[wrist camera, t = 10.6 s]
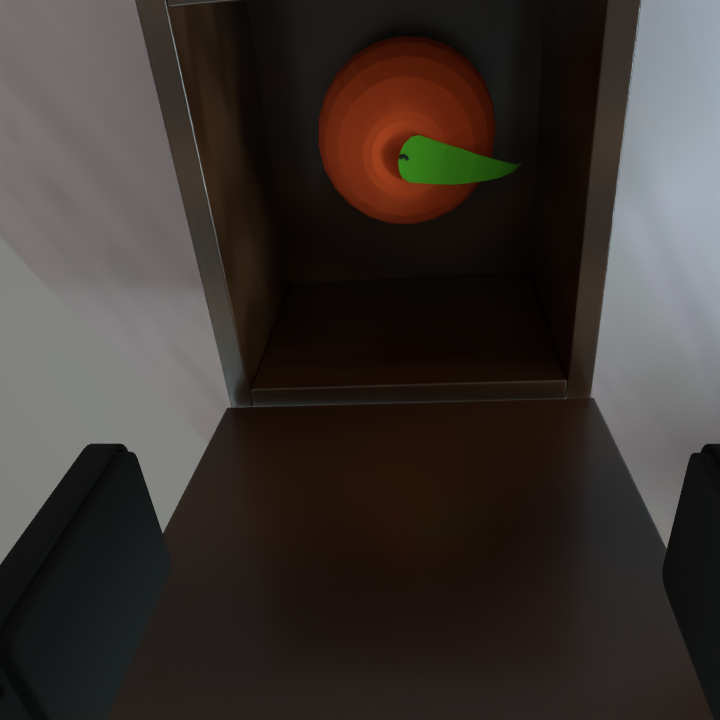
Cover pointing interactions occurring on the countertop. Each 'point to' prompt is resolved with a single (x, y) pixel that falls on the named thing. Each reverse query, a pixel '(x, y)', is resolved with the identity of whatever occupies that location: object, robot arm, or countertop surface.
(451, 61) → the clementine
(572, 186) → the chest
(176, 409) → the countertop surface
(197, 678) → the lid
